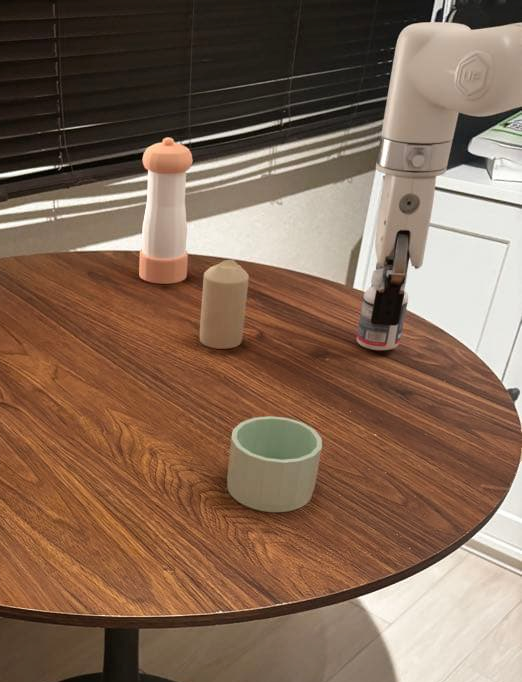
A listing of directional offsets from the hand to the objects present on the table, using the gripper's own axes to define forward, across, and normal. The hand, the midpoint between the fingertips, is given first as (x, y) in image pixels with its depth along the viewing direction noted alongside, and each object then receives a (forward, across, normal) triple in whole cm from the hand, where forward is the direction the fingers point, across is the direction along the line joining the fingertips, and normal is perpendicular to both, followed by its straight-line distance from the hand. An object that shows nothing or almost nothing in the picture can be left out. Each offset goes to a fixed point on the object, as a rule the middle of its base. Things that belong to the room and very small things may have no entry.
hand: (382, 313), depth 100 cm
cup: (+5, -35, +12) cm, 37 cm away
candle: (+5, -2, +20) cm, 20 cm away
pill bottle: (+4, 0, 0) cm, 4 cm away
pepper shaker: (+4, +20, +31) cm, 37 cm away
